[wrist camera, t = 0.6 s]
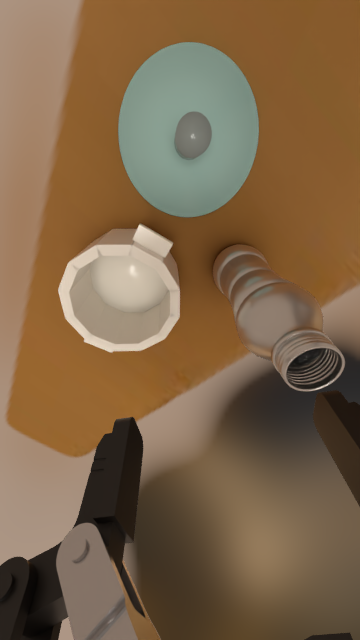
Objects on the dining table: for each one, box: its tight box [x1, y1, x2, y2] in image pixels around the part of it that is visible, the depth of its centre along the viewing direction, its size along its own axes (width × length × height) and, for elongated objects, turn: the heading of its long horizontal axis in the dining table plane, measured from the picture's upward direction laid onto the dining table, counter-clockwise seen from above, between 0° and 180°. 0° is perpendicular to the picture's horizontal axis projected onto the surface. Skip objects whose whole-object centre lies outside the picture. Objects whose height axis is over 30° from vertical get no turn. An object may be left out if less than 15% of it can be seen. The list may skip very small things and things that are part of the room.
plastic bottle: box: [213, 244, 345, 391], centre depth 23 cm, size 6×7×20 cm
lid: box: [118, 42, 259, 217], centre depth 23 cm, size 14×14×6 cm
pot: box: [58, 223, 180, 353], centre depth 28 cm, size 15×12×8 cm
